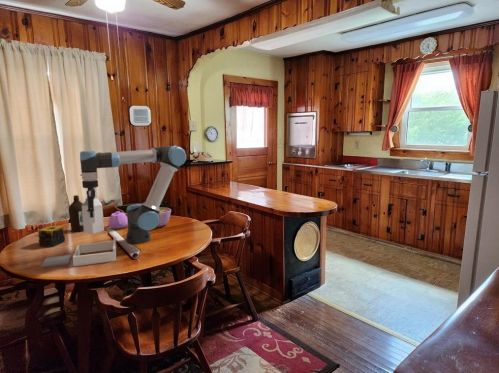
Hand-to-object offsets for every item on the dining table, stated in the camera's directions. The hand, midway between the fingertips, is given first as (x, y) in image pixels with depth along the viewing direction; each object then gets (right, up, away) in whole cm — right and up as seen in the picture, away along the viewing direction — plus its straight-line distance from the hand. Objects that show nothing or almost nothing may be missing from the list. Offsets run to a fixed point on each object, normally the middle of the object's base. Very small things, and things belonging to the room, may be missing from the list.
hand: (93, 220), depth 173 cm
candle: (-38, -17, +25) cm, 48 cm away
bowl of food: (+17, -11, +64) cm, 67 cm away
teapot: (-10, -12, +59) cm, 61 cm away
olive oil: (-36, -13, +52) cm, 64 cm away
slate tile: (-18, -22, -3) cm, 28 cm away
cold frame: (0, -20, +3) cm, 21 cm away
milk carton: (0, -6, +1) cm, 6 cm away
